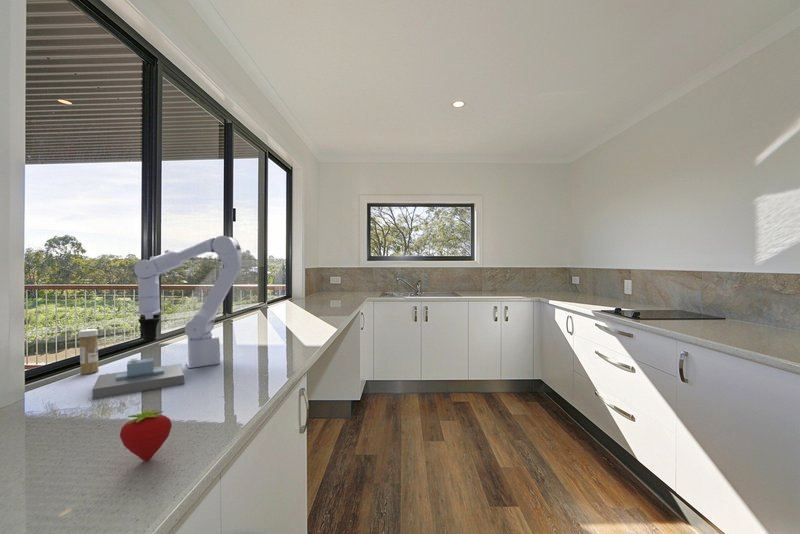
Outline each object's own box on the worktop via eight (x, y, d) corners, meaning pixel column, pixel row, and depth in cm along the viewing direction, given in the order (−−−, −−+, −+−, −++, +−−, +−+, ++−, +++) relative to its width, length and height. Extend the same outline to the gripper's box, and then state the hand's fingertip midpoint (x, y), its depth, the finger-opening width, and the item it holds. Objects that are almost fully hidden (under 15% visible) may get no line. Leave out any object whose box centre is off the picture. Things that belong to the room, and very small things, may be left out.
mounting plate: (181, 371, 117) (180, 363, 117) (184, 383, 105) (183, 374, 105) (99, 383, 106) (99, 375, 106) (92, 399, 94) (92, 389, 94)
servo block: (164, 378, 110) (163, 353, 110) (164, 382, 107) (163, 356, 107) (117, 385, 104) (116, 359, 104) (116, 389, 101) (115, 363, 100)
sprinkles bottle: (97, 372, 116) (96, 330, 116) (78, 375, 114) (77, 331, 113) (99, 369, 120) (98, 327, 120) (81, 371, 118) (79, 329, 117)
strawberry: (169, 464, 63) (167, 406, 63) (115, 474, 61) (113, 413, 60) (175, 448, 69) (174, 394, 69) (126, 456, 66) (124, 400, 66)
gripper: (134, 296, 126) (136, 336, 126) (132, 299, 114) (134, 344, 114) (159, 294, 130) (160, 333, 130) (160, 298, 118) (161, 341, 118)
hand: (150, 338), depth 122 cm, fingers open, 7 cm apart
